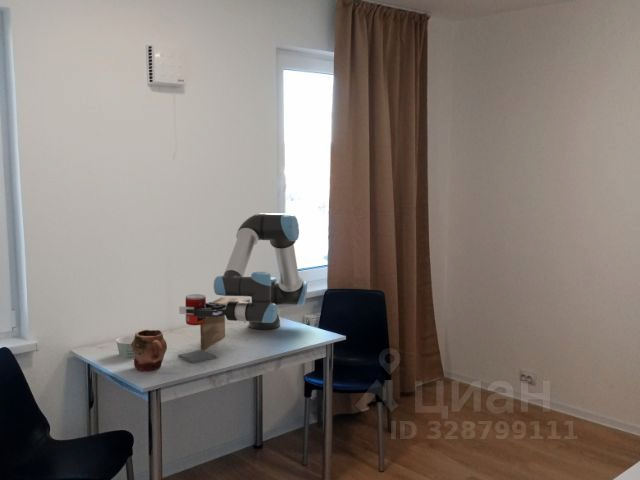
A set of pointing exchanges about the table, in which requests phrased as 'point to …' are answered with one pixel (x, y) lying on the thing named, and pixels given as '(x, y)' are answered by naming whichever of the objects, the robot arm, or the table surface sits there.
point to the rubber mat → (197, 356)
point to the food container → (125, 346)
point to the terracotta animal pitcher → (148, 349)
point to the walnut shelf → (215, 326)
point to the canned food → (198, 302)
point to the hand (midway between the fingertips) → (184, 307)
